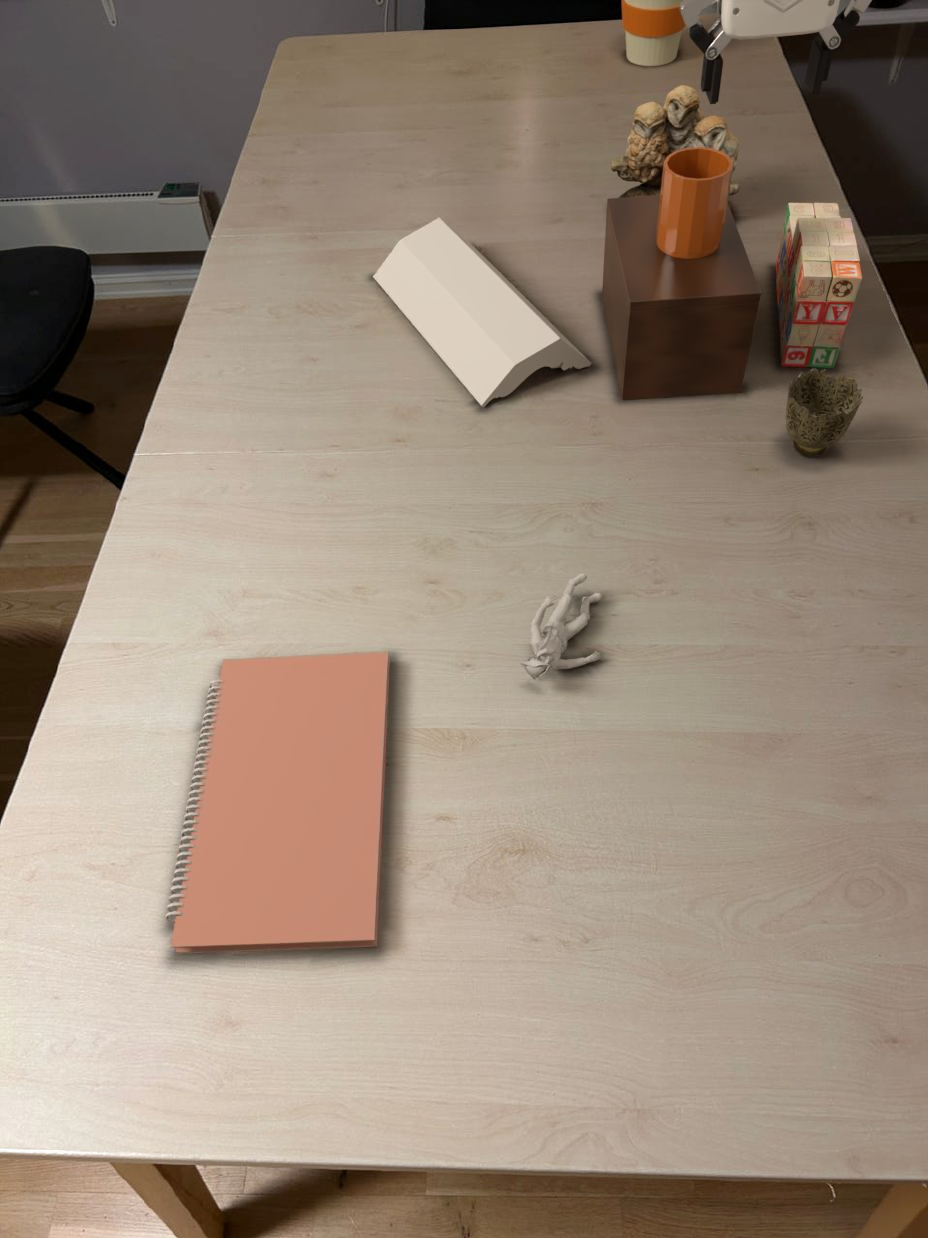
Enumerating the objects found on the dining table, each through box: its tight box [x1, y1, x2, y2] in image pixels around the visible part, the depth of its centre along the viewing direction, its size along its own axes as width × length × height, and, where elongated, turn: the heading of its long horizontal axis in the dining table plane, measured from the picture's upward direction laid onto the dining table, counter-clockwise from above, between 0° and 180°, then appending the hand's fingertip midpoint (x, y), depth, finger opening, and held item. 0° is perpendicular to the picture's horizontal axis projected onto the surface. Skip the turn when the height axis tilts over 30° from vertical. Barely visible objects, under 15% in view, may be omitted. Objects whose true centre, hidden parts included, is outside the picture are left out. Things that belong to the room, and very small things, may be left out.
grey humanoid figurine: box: [519, 572, 603, 681], centre depth 88 cm, size 8×5×12 cm
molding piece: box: [372, 217, 593, 408], centre depth 122 cm, size 32×12×10 cm
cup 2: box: [785, 367, 864, 458], centre depth 100 cm, size 8×7×8 cm
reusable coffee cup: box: [621, 0, 686, 67], centre depth 163 cm, size 13×13×15 cm
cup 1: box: [656, 147, 734, 259], centre depth 103 cm, size 7×7×9 cm
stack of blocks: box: [775, 202, 863, 369], centre depth 114 cm, size 21×6×12 cm, turn 171°
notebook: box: [164, 650, 391, 954], centre depth 80 cm, size 27×17×2 cm, turn 1°
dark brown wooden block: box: [601, 195, 763, 401], centre depth 112 cm, size 14×22×13 cm, turn 1°
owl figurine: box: [610, 84, 740, 217], centre depth 129 cm, size 18×12×17 cm, turn 77°
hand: (761, 93), depth 91 cm, fingers open, 9 cm apart
